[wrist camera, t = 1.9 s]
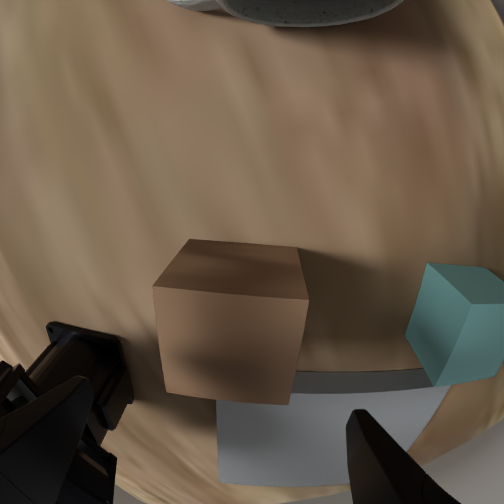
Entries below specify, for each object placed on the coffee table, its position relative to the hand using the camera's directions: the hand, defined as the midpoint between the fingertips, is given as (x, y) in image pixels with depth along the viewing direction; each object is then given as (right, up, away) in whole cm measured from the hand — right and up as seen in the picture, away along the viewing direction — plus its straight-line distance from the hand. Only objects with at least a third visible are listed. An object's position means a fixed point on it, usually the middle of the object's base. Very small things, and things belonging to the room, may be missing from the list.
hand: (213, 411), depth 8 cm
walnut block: (+1, +3, +8) cm, 8 cm away
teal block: (+13, +2, +7) cm, 16 cm away
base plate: (+7, -9, +12) cm, 16 cm away
